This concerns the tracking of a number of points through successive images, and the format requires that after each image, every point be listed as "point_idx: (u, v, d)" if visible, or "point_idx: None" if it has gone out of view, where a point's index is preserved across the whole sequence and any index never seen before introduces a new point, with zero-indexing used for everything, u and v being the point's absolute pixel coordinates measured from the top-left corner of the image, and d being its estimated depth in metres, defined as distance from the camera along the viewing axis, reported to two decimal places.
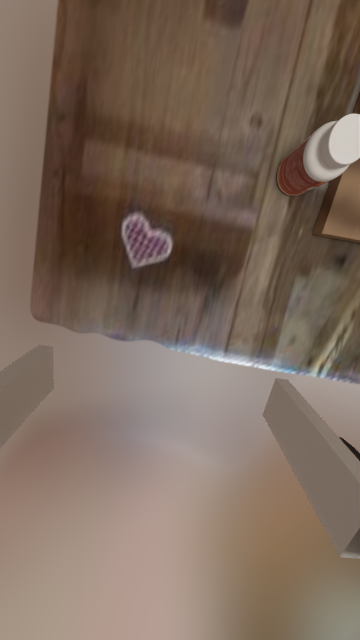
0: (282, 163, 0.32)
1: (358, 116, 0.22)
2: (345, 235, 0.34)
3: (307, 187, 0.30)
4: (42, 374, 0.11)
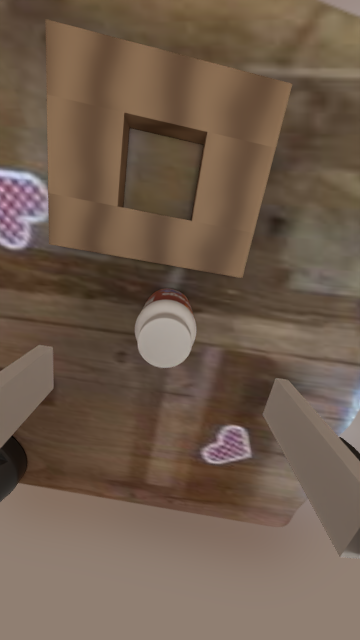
0: None
1: (140, 339, 0.18)
2: (248, 242, 0.24)
3: None
4: (42, 374, 0.11)
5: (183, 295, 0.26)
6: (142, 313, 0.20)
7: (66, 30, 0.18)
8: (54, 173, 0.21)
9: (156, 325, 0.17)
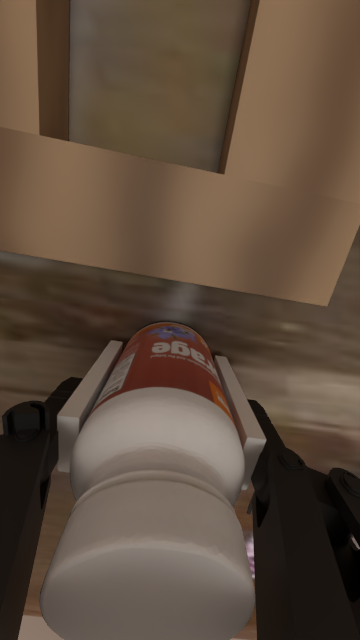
0: None
1: (49, 604, 0.04)
2: (351, 227, 0.10)
3: None
4: None
5: (198, 338, 0.13)
6: (85, 437, 0.06)
7: None
8: None
9: (110, 565, 0.04)
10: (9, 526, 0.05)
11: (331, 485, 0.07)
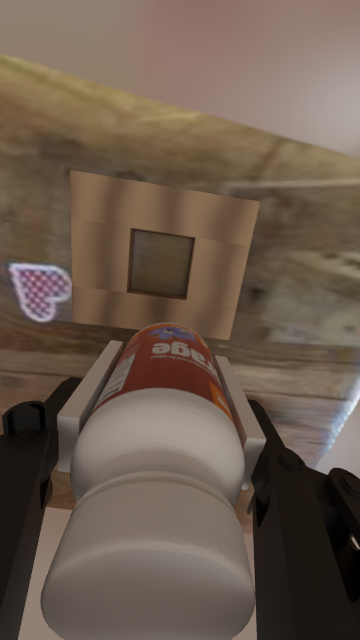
0: None
1: (50, 605, 0.04)
2: (232, 313, 0.29)
3: None
4: None
5: (198, 339, 0.13)
6: (86, 438, 0.06)
7: (85, 176, 0.23)
8: (77, 272, 0.27)
9: (111, 566, 0.04)
10: (9, 526, 0.05)
11: (331, 485, 0.07)
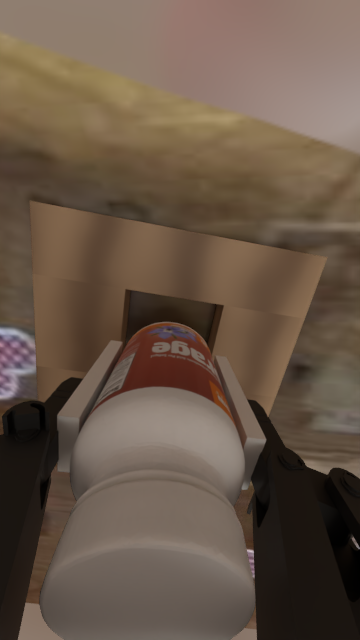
0: None
1: (49, 604, 0.04)
2: (269, 405, 0.20)
3: None
4: None
5: (198, 338, 0.13)
6: (86, 437, 0.06)
7: (55, 211, 0.15)
8: (43, 348, 0.18)
9: (110, 566, 0.04)
10: (9, 526, 0.05)
11: (331, 485, 0.07)
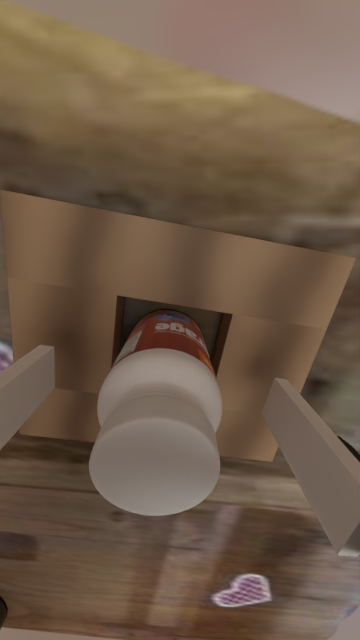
0: None
1: (95, 464, 0.07)
2: None
3: None
4: (44, 374, 0.11)
5: (192, 323, 0.16)
6: (110, 380, 0.09)
7: (31, 202, 0.12)
8: None
9: (133, 434, 0.07)
10: None
11: None
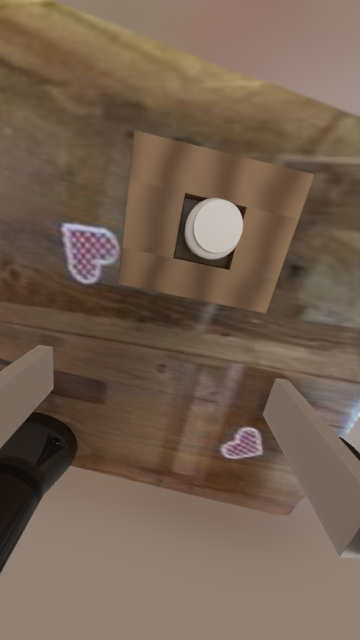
0: None
1: (197, 221, 0.19)
2: (272, 286, 0.30)
3: None
4: (42, 374, 0.11)
5: None
6: (194, 208, 0.21)
7: (148, 137, 0.24)
8: (128, 234, 0.28)
9: (212, 206, 0.19)
10: None
11: None
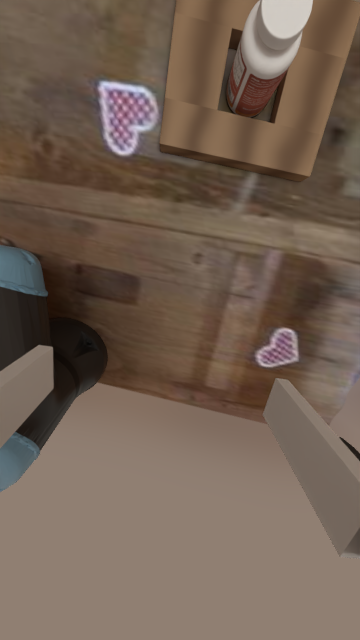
0: (240, 111, 0.29)
1: None
2: (317, 143, 0.29)
3: None
4: (42, 374, 0.11)
5: None
6: (255, 5, 0.21)
7: None
8: (172, 80, 0.27)
9: None
10: None
11: None
